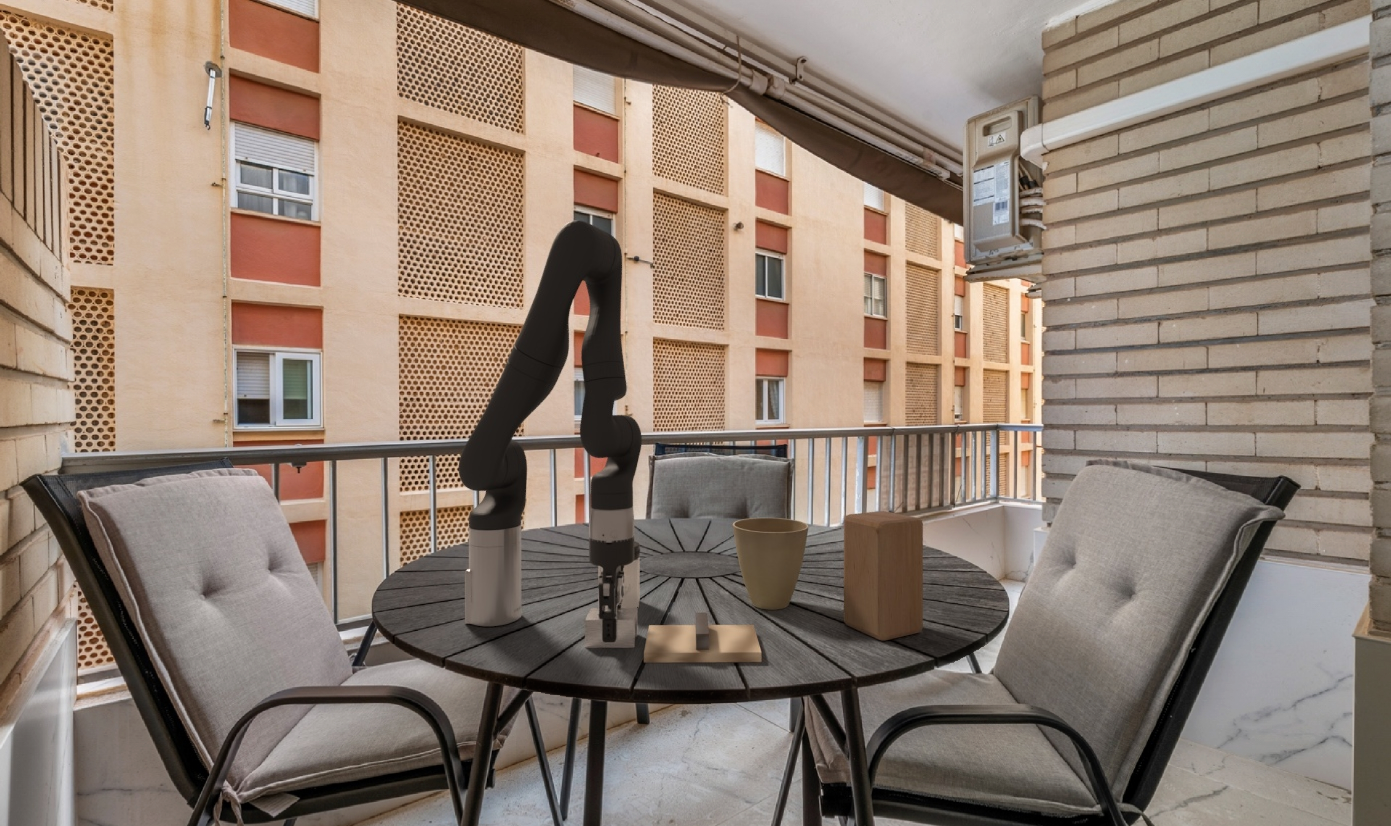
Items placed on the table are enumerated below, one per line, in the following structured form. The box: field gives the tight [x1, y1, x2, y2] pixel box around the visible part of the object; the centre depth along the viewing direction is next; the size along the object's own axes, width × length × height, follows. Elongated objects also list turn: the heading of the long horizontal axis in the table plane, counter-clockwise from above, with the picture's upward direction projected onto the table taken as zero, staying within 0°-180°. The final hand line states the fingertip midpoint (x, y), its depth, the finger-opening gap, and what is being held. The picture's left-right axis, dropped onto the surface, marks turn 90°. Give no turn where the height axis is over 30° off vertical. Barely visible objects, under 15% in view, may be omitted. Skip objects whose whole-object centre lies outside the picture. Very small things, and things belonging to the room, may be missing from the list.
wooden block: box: [843, 510, 924, 642], centre depth 108 cm, size 10×10×20 cm
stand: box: [643, 612, 762, 664], centre depth 100 cm, size 18×12×4 cm, turn 90°
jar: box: [597, 540, 641, 609], centre depth 122 cm, size 9×8×12 cm
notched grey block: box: [584, 607, 638, 649], centre depth 103 cm, size 6×8×4 cm
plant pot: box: [732, 517, 809, 611], centre depth 122 cm, size 15×15×16 cm
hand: (612, 633), depth 103 cm, fingers closed on notched grey block, 6 cm apart
